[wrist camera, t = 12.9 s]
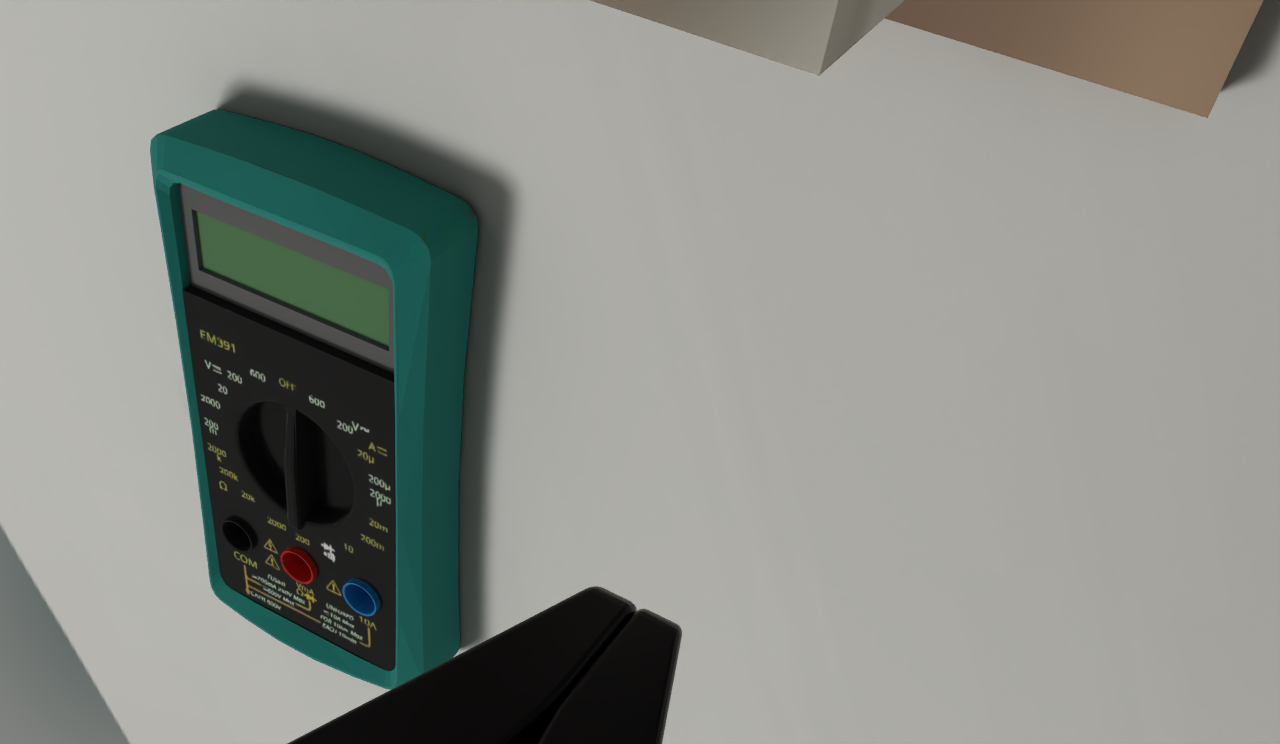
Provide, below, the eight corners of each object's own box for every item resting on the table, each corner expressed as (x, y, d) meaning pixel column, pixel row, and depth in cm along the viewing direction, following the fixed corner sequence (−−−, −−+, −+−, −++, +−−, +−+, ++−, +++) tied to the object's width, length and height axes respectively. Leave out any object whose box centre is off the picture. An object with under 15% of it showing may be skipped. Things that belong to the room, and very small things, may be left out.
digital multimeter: (265, 553, 35) (194, 615, 33) (221, 87, 26) (119, 130, 24) (471, 656, 33) (409, 731, 31) (497, 186, 24) (413, 244, 22)
